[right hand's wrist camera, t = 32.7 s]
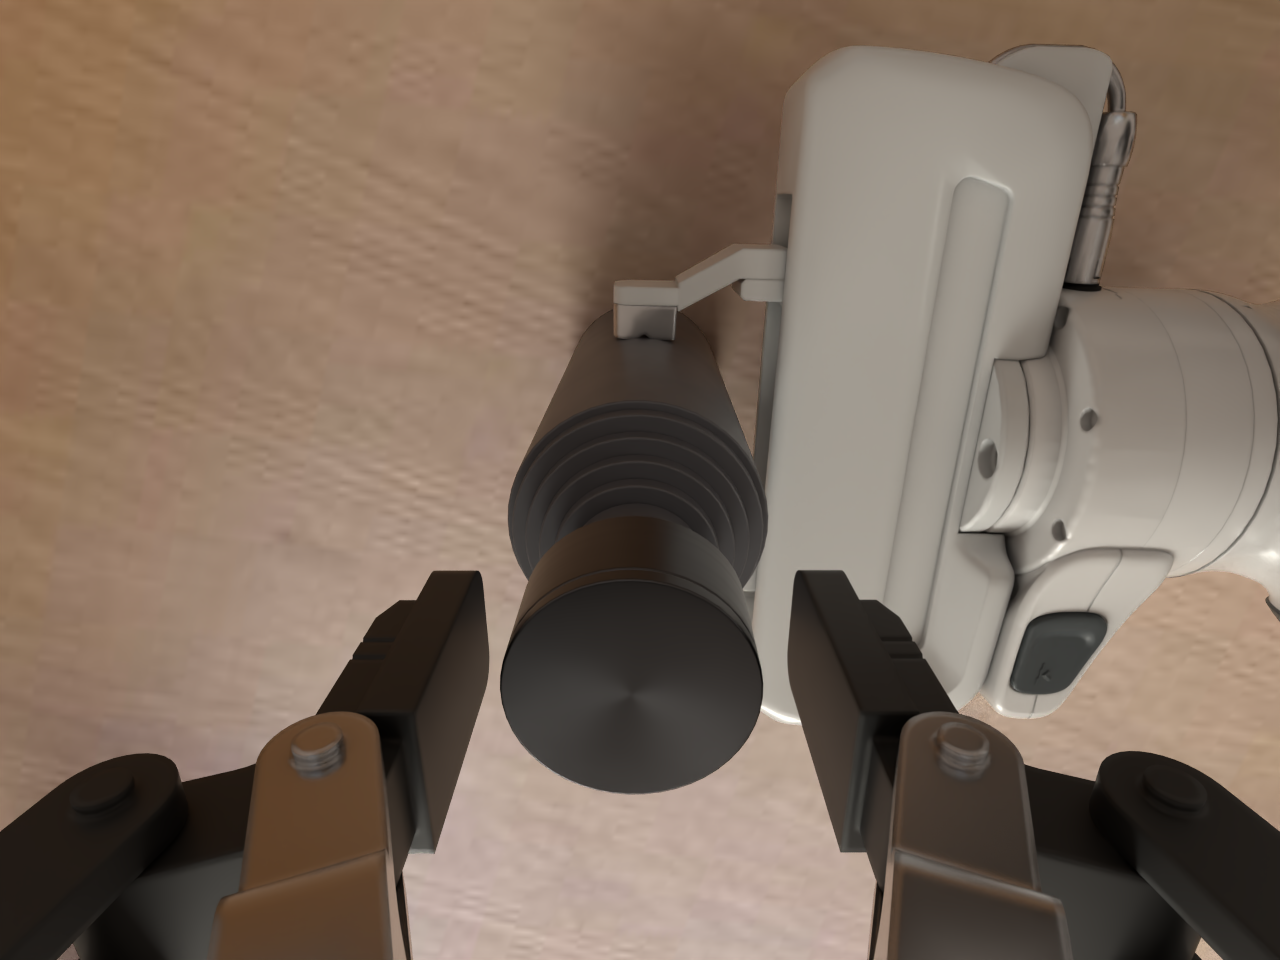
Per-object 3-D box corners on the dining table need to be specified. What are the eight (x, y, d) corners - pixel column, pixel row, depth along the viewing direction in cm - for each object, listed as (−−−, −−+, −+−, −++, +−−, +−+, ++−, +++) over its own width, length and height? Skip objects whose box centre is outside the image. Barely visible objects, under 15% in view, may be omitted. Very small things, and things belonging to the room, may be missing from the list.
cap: (778, 549, 12) (803, 620, 10) (704, 726, 13) (714, 819, 11) (553, 487, 11) (533, 547, 9) (501, 676, 13) (475, 762, 11)
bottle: (688, 460, 29) (738, 826, 12) (555, 420, 29) (420, 746, 12) (735, 328, 27) (874, 552, 10) (594, 282, 27) (499, 440, 10)
